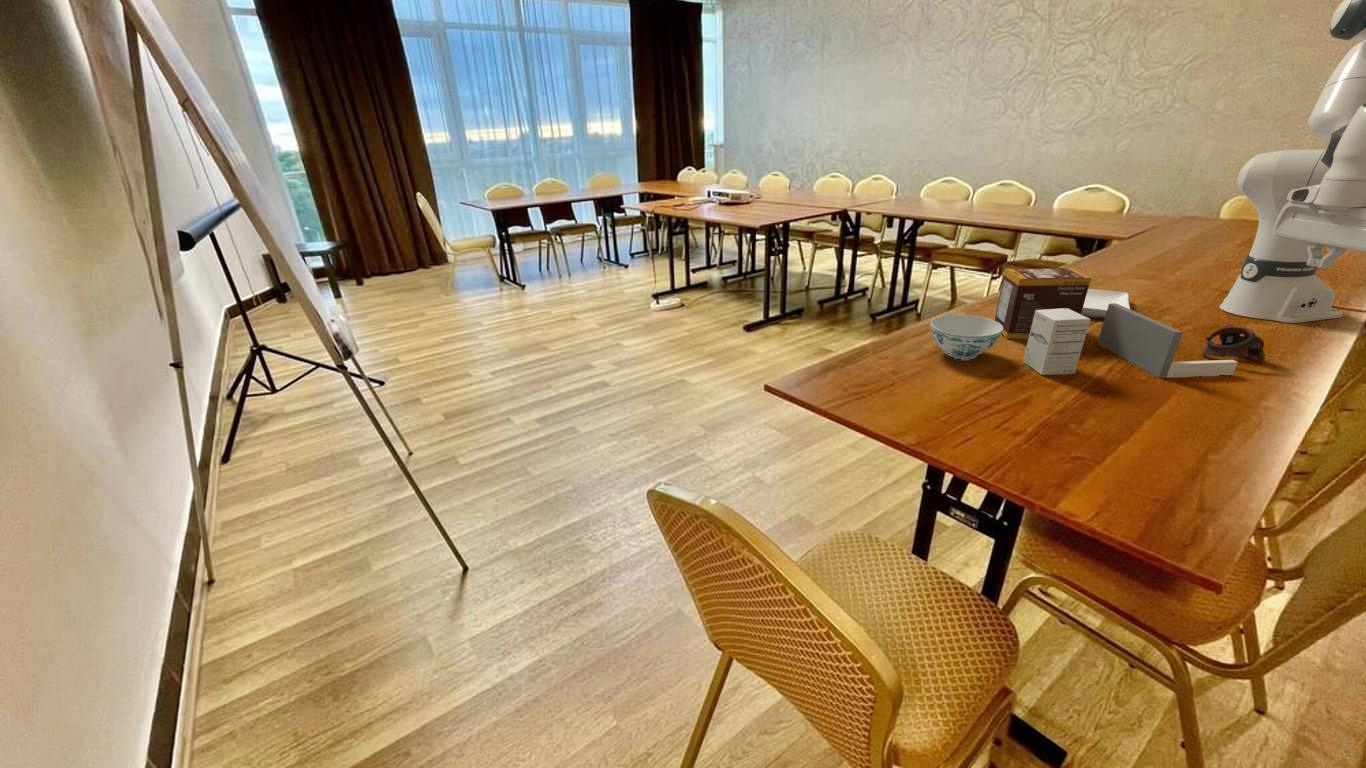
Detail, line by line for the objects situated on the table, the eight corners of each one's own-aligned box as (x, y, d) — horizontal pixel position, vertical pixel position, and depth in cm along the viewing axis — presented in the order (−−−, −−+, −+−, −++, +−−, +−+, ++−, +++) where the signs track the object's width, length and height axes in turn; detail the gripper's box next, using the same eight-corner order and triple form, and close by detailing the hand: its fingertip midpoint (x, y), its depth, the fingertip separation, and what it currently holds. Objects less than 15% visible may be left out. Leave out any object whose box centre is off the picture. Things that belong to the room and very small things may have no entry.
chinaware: (1004, 351, 124) (1011, 321, 121) (985, 373, 114) (992, 340, 111) (939, 339, 134) (943, 311, 130) (916, 358, 124) (920, 328, 121)
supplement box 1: (1075, 339, 127) (1092, 277, 121) (1006, 339, 131) (1019, 278, 124) (1057, 325, 137) (1072, 267, 130) (992, 325, 140) (1004, 268, 133)
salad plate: (1038, 294, 161) (1040, 284, 160) (1125, 302, 150) (1128, 291, 148) (1031, 314, 146) (1034, 303, 145) (1127, 325, 135) (1131, 312, 133)
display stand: (1159, 341, 123) (1173, 300, 119) (1232, 375, 106) (1252, 329, 101) (1097, 343, 124) (1109, 303, 120) (1158, 377, 107) (1175, 332, 103)
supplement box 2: (1021, 362, 118) (1033, 309, 113) (1055, 360, 118) (1069, 307, 112) (1040, 375, 111) (1054, 320, 106) (1076, 374, 111) (1092, 318, 106)
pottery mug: (1275, 371, 107) (1270, 341, 104) (1212, 382, 113) (1205, 354, 110) (1253, 338, 115) (1248, 309, 112) (1195, 350, 121) (1189, 323, 118)
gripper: (1437, 200, 89) (1395, 279, 95) (1314, 188, 108) (1285, 255, 113) (1396, 202, 90) (1357, 280, 96) (1281, 190, 108) (1254, 257, 114)
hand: (1317, 267), depth 105 cm, fingers closed
